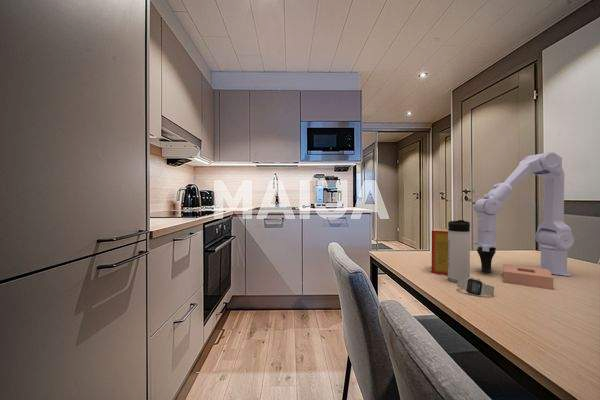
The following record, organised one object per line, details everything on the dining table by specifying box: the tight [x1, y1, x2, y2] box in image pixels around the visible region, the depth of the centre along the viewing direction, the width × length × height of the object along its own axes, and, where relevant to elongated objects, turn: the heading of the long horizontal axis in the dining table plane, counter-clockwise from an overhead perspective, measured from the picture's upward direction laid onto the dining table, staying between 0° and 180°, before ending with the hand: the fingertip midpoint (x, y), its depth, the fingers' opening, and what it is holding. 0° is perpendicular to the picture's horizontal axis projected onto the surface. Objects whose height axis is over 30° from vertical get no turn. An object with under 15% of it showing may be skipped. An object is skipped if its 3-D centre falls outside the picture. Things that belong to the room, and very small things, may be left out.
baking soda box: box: [431, 227, 448, 276], centre depth 102 cm, size 10×6×16 cm
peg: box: [480, 266, 492, 274], centre depth 101 cm, size 3×3×7 cm
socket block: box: [502, 263, 554, 290], centre depth 91 cm, size 12×12×4 cm
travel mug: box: [447, 219, 471, 284], centre depth 91 cm, size 6×7×20 cm
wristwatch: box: [456, 276, 495, 297], centre depth 80 cm, size 9×6×5 cm
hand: (486, 267), depth 101 cm, fingers open, 4 cm apart
